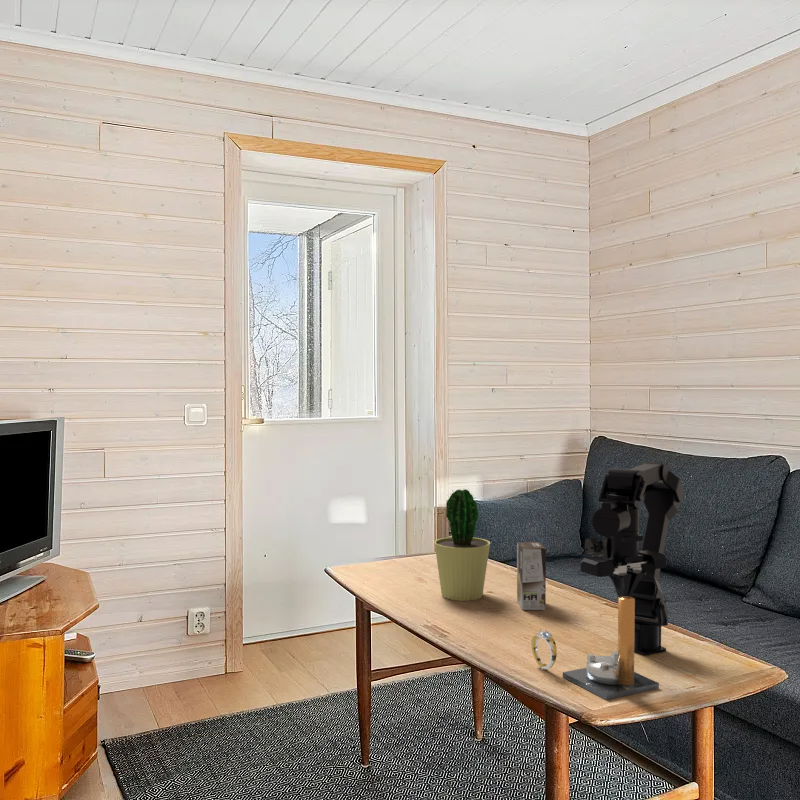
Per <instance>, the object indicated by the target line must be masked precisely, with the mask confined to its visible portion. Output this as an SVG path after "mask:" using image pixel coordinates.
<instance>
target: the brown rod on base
mask: <svg viewBox="0 0 800 800" xmlns="http://www.w3.org/2000/svg"><path fill="white" fill-rule="evenodd" d="M617 598H618V600H617V651H611V655H597V656H596V655H595V654H594V653H589V654H588V653H587V654H586V668H587V677H588V678H590V679H591V680H593V681H596V682H599V683H603V684H611V685H621V684H623V685H632V684H634V672H635V651H634V627H635V598H633V597H629V596H620V597H618V596H617Z"/></svg>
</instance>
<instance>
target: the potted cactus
mask: <svg viewBox="0 0 800 800" xmlns="http://www.w3.org/2000/svg"><path fill="white" fill-rule="evenodd" d="M451 490H452V493H451V494H450V496H449V495H447V496H448V499H447V498H446V499H445V502H446V503H445V509H443V510H444V511H445V515H444V516H443V518H445V520H446V519H447V521H448V525H449V528H447V530H449V531H450V536H449V537H448V536H447V537H442V538H438V539H436V540H434V549H435V550H434V551H435V555H436V556H435V558H436V564H437V571H438V578H439V585H440V591H441V596H442V597H443V598H445V599H448V600H452V601H462V602H464V601H466V602H467V601H475V600H479V599H481V598H482V597H483V594H484V586H485V580H486V575H487V567H488V562H489V561H488V560H489V553H490V548H491V547H490V544H491V542H490V541H489V540H487V539H484V538H479V537H476V535H475V534H476V529H477V528H476V523H477V525H479V524H480V523H479V521H478V520H479V519H480V515H479V511H480V510H479V509H480V508H482V507H478V503H477V501H476V500H475V499H476V497H474V495H473V494H472V493H471V491H470V489H469V488H467V489H465V488H462V489H461V488H460V489H457V490H455V491H454V490H453V489H451Z"/></svg>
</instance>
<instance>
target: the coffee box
mask: <svg viewBox="0 0 800 800" xmlns="http://www.w3.org/2000/svg"><path fill="white" fill-rule="evenodd" d="M546 571H547V548H546V546H544V545H543V544H542V543H541V542H540V541H529V542H528V541H525V542H516V600H517V603H518V605H519V607H520V608H521V610H522V611H546V599H547V598H546V595H547V594H546V591H547V588H546V583H547V582H546V581H547V580H546V579H547V578H546V576H547V575H546V574H547V572H546Z"/></svg>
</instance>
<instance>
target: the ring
mask: <svg viewBox="0 0 800 800" xmlns="http://www.w3.org/2000/svg"><path fill="white" fill-rule="evenodd" d="M540 639H542V640H543V641H545V643H546V644H547V646H548V648H549V652H550V653H549V654H550V657H549V659H550V660H549V662H548V664H546V663H544V662H543V661H542V659H541V658H540V655H539V652H538V643H539V640H540ZM530 644H531V645H530V646H531V650H532V655H533V658H534V659H535V661H536V663H537V665H538V666H539V667H540V669H541V670H544V671H545V670H550V669H551V668H553V667H554V665H555V663H556V659H557V655H558V650H557V645H556V641H555V639H554V638H553V634H552V632H550V631H549V630H548V629H545V631H544V630H542V629H539V633H536V634H535V635H533V636H532V638H531V643H530Z"/></svg>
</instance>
